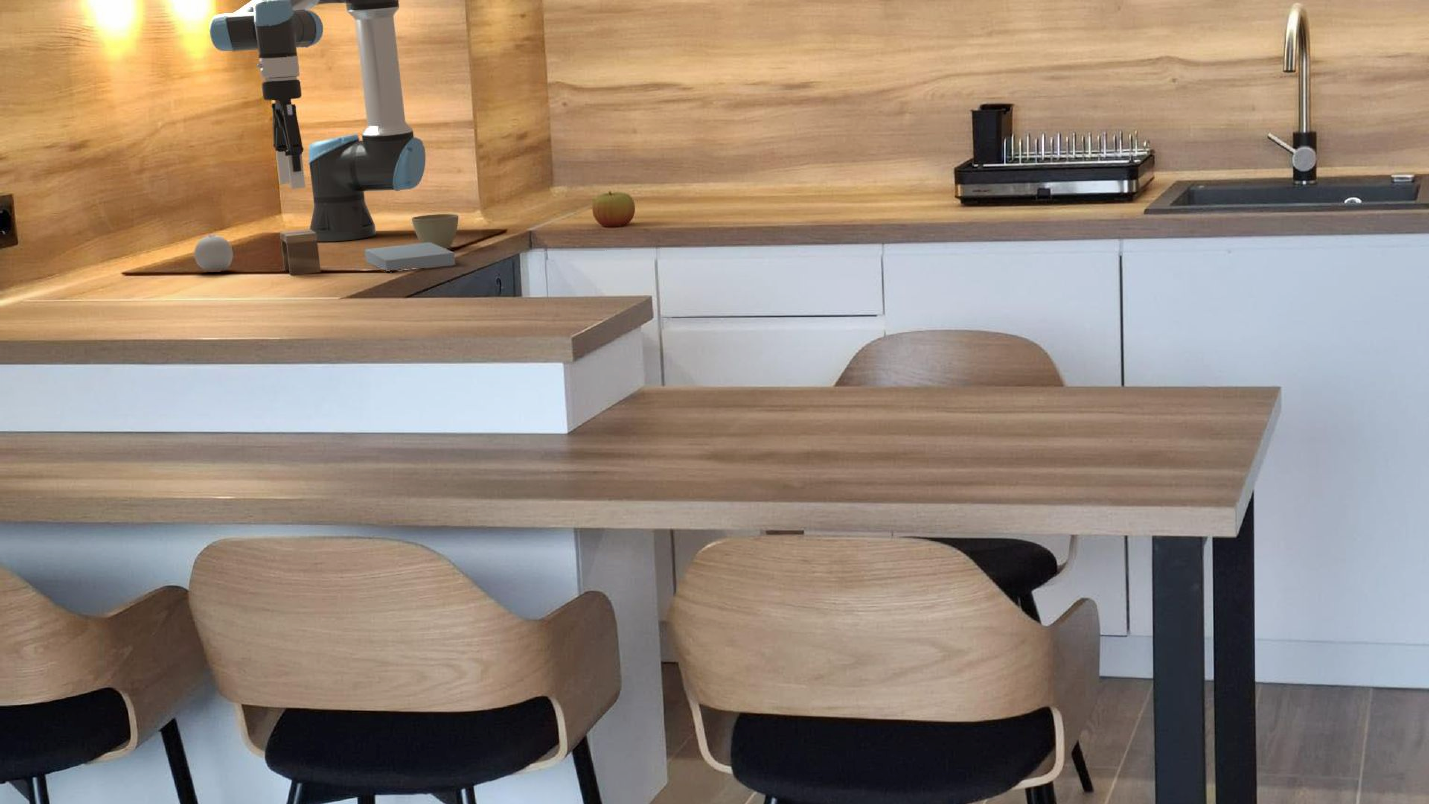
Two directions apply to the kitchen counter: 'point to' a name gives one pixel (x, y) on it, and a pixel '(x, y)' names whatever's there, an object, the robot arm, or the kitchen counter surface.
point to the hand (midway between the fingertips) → (292, 185)
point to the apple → (613, 209)
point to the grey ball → (213, 253)
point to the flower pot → (436, 228)
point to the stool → (300, 251)
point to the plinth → (410, 256)
